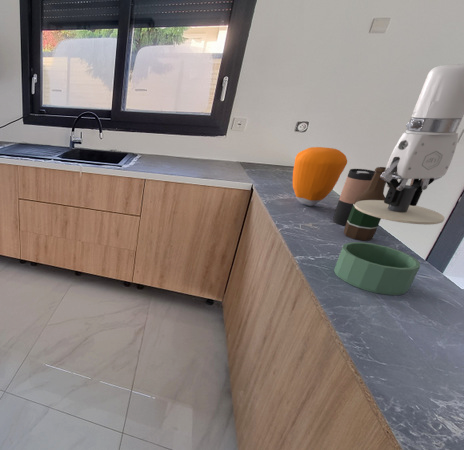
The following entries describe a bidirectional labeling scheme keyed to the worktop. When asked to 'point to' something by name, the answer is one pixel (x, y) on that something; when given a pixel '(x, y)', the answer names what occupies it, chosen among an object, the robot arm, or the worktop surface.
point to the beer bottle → (359, 222)
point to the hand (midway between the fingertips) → (399, 203)
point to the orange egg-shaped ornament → (316, 173)
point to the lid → (400, 210)
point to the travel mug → (351, 193)
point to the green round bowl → (376, 268)
